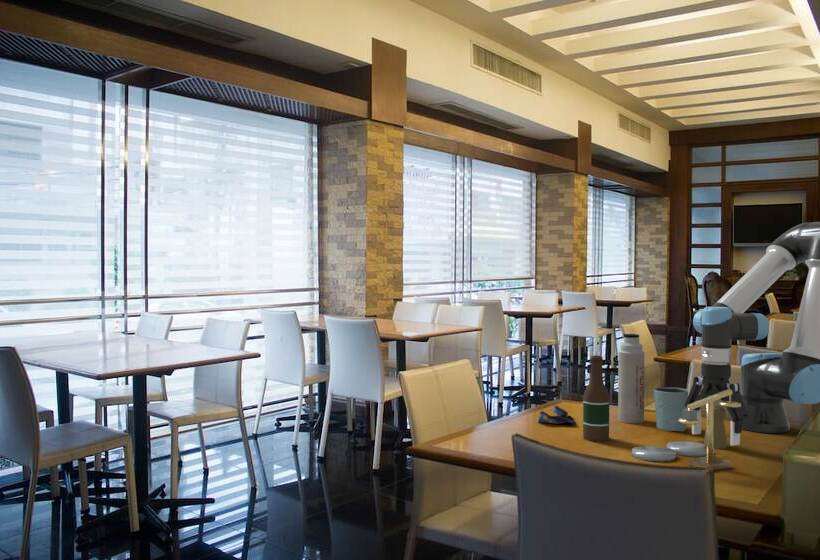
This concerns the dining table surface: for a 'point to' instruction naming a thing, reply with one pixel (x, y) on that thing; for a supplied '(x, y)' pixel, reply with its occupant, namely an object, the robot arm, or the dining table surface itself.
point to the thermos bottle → (631, 380)
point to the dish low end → (653, 453)
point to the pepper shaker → (718, 428)
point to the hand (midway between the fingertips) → (715, 439)
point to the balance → (708, 429)
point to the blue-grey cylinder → (670, 407)
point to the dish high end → (687, 448)
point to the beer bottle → (596, 404)
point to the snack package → (559, 418)
